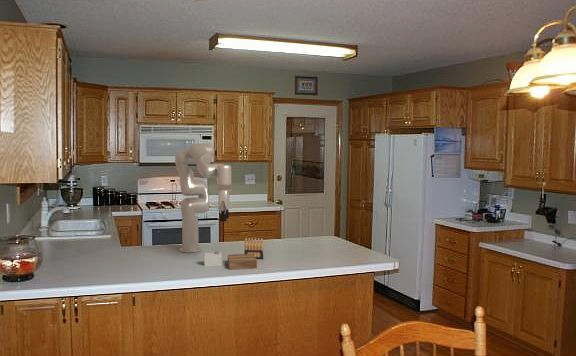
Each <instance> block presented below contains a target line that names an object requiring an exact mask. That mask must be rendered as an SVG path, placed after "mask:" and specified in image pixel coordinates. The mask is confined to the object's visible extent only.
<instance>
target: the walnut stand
mask: <svg viewBox="0 0 576 356" xmlns="http://www.w3.org/2000/svg"><path fill="white" fill-rule="evenodd" d="M257 260H258V259H256V258H255V256H254V254H244V253H243V254H227V266H228V268H229V269H228V270H251V269H252V270H253V269H254V270H255V269H258V261H257Z"/></svg>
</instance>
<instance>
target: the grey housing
mask: <svg viewBox="0 0 576 356" xmlns="http://www.w3.org/2000/svg"><path fill="white" fill-rule="evenodd" d="M203 253H204V257H203V258H204V259H203V260H204V267H210V266H211V267H213V266H215V267H217V266H222V265H223V260H222V259H223V254H222V251H220V252H219V251H214V252H203Z"/></svg>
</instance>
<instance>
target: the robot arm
mask: <svg viewBox="0 0 576 356" xmlns="http://www.w3.org/2000/svg"><path fill="white" fill-rule="evenodd" d="M214 156H215V148H214V146H213V145H212V144H210V143H193V144H191V145H190V146H189V147H188V149H184V150H179V151H177V153H175V156H174V160H175V161H174V163H175V166H176V170H177V172H178V175H179V177H178V178H179V185H180V192H181V194H182V195H183V196H184V197H185V196H186V197H187V198H186V197H185V198H184V199H182V200H181V201H180V213H181V221H182V222H181V224H182V226H181V228H182V229H181V230H182V231H181V233H182V234H181V239H182V240H181V241H182V245H181V246H182V247H180V248H179V252H181V253H190V254H191V253H198V252H200V251H202V247H200V245H199V240H200V239H199V220H198V218H197V216H196V214H204V213H207V212H209V210H210V207H211V205H210V197H209V190H208V185H207V182H206V181H205V180H204V179H195V175H194V171H193V169H192V168H191V167H190V166H189V165H196V169H197V172H198V174H200V175H201V176H202V177H203V178H206V179H211V178H213V179H214V178H216V184H217V185H216V191H218V200H217V201H218V202H217V209H218V210H220V214H219V221H220V222H227V219H229V215H230V214H229V213H230V212H229V208H230V192H232V166H231V165H230V164H224V163H212V161H213V157H214ZM190 196H192V197H190ZM193 196H194V197H193ZM195 196H196V197H195Z"/></svg>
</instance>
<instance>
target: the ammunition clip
mask: <svg viewBox="0 0 576 356" xmlns="http://www.w3.org/2000/svg"><path fill="white" fill-rule="evenodd" d="M247 238H248V239H247ZM263 242H264V241H263V238H262V237H261V238H259V237H258V238H256V237H255V238H253V237H251V238H250V237H245V239H244V253H243V254H254V256H255V258H256V260H264V243H263Z"/></svg>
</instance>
